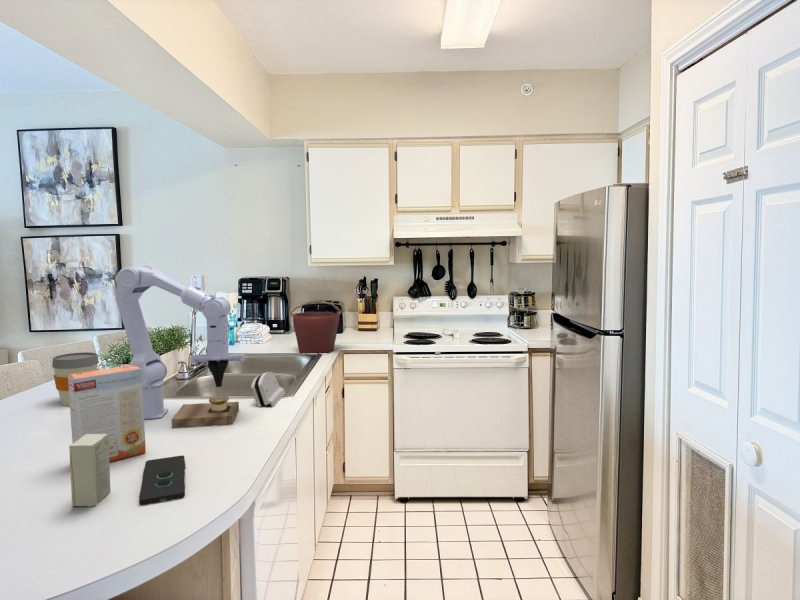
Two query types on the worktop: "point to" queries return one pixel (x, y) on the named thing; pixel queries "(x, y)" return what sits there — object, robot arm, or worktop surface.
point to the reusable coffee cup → (71, 370)
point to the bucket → (316, 329)
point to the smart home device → (163, 480)
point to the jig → (204, 415)
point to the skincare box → (89, 469)
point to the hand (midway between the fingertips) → (219, 386)
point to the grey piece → (266, 389)
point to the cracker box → (109, 408)
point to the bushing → (218, 403)
